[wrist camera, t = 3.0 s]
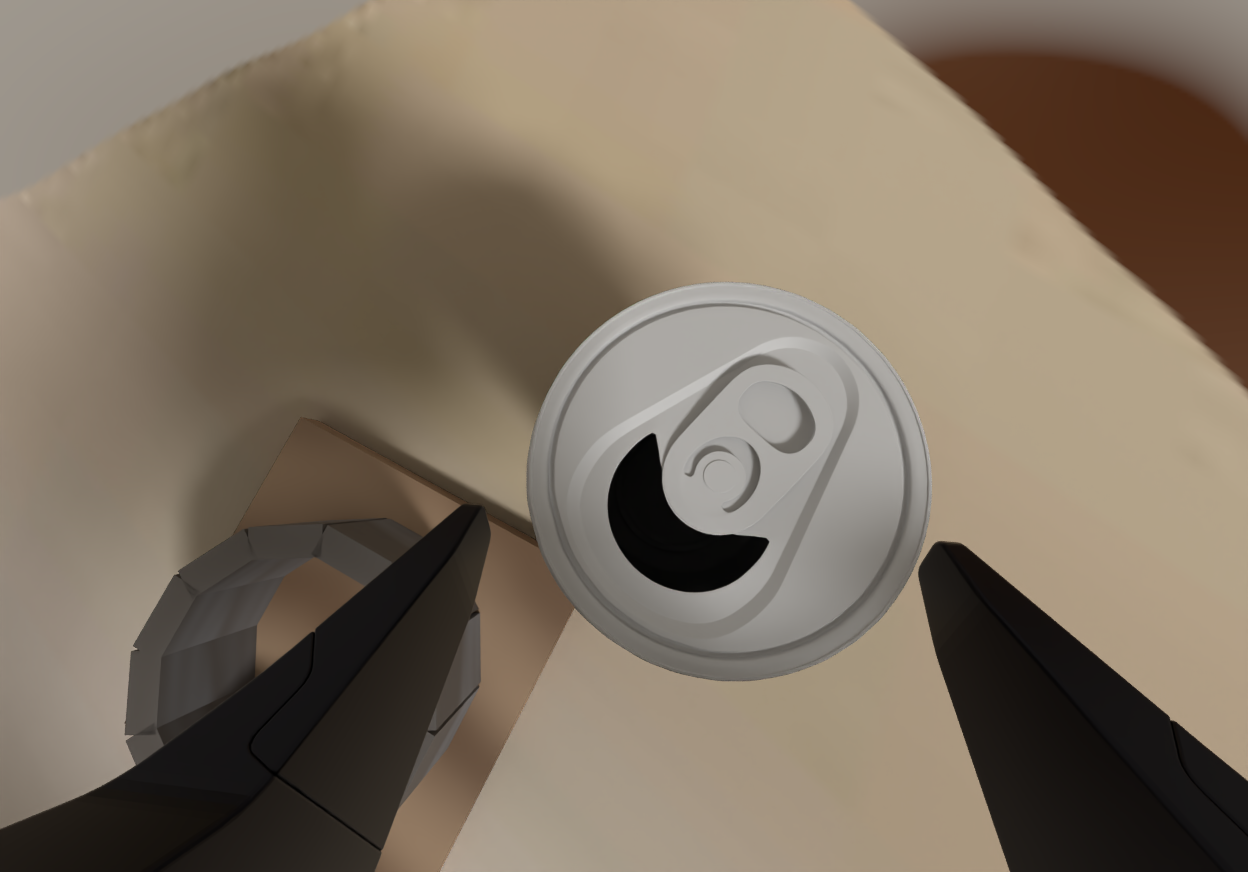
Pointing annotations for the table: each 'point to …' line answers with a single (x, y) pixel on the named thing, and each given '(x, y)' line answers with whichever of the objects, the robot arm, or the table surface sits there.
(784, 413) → the beverage can
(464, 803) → the can holder
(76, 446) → the table surface
